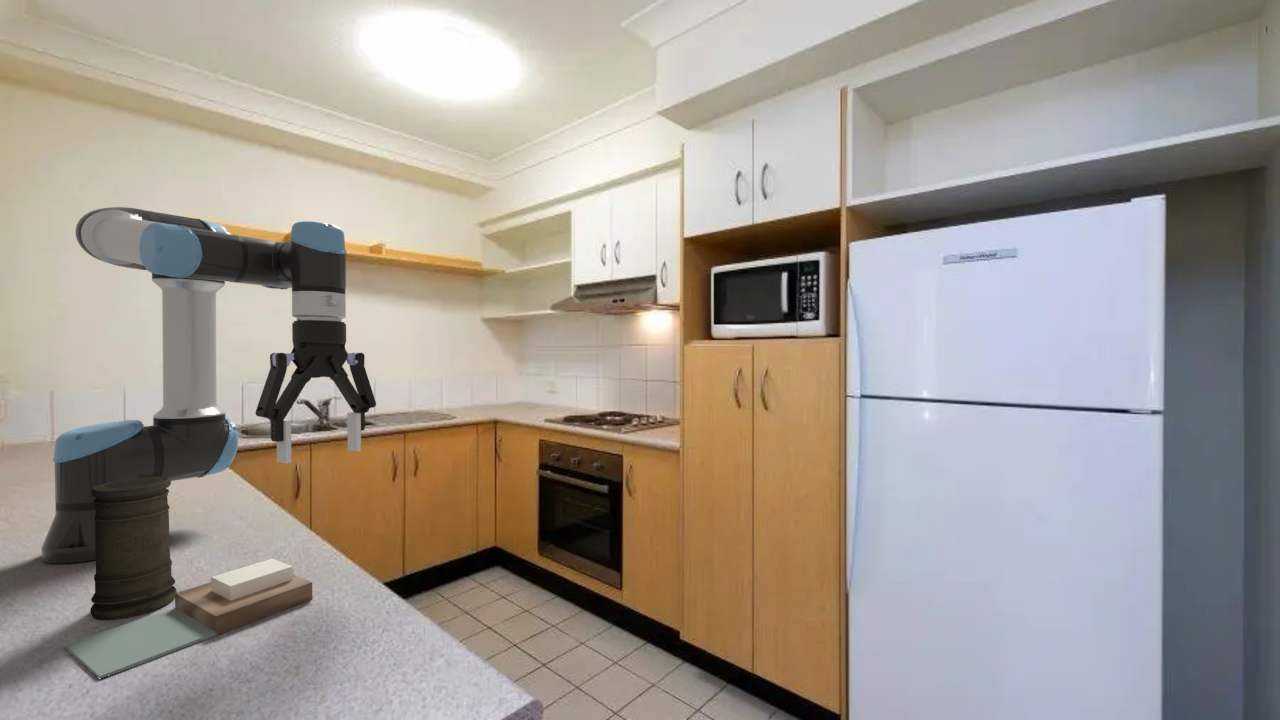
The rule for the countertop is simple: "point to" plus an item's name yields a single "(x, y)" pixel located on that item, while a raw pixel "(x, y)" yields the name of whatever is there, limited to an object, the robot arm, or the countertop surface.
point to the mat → (138, 642)
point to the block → (251, 579)
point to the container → (132, 548)
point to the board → (240, 604)
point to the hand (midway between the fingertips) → (321, 456)
